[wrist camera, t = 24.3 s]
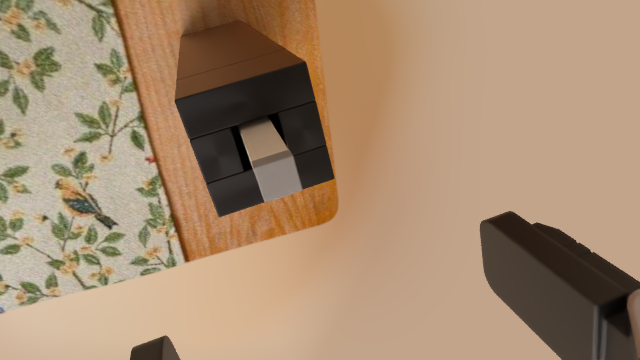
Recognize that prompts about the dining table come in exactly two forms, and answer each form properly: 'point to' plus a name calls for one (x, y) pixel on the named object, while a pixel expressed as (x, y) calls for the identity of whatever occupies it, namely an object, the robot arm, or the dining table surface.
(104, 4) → the dining table surface
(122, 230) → the dining table surface
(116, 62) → the dining table surface
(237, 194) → the holder
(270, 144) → the grey square peg
